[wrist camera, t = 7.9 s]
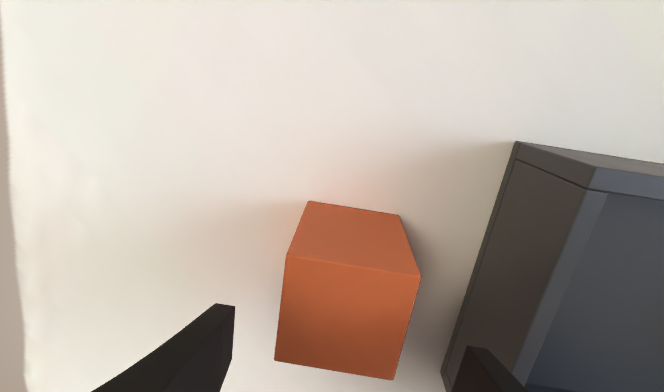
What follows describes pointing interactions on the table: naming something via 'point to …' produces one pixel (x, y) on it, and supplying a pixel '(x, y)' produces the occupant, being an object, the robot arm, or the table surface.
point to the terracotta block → (347, 291)
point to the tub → (570, 275)
